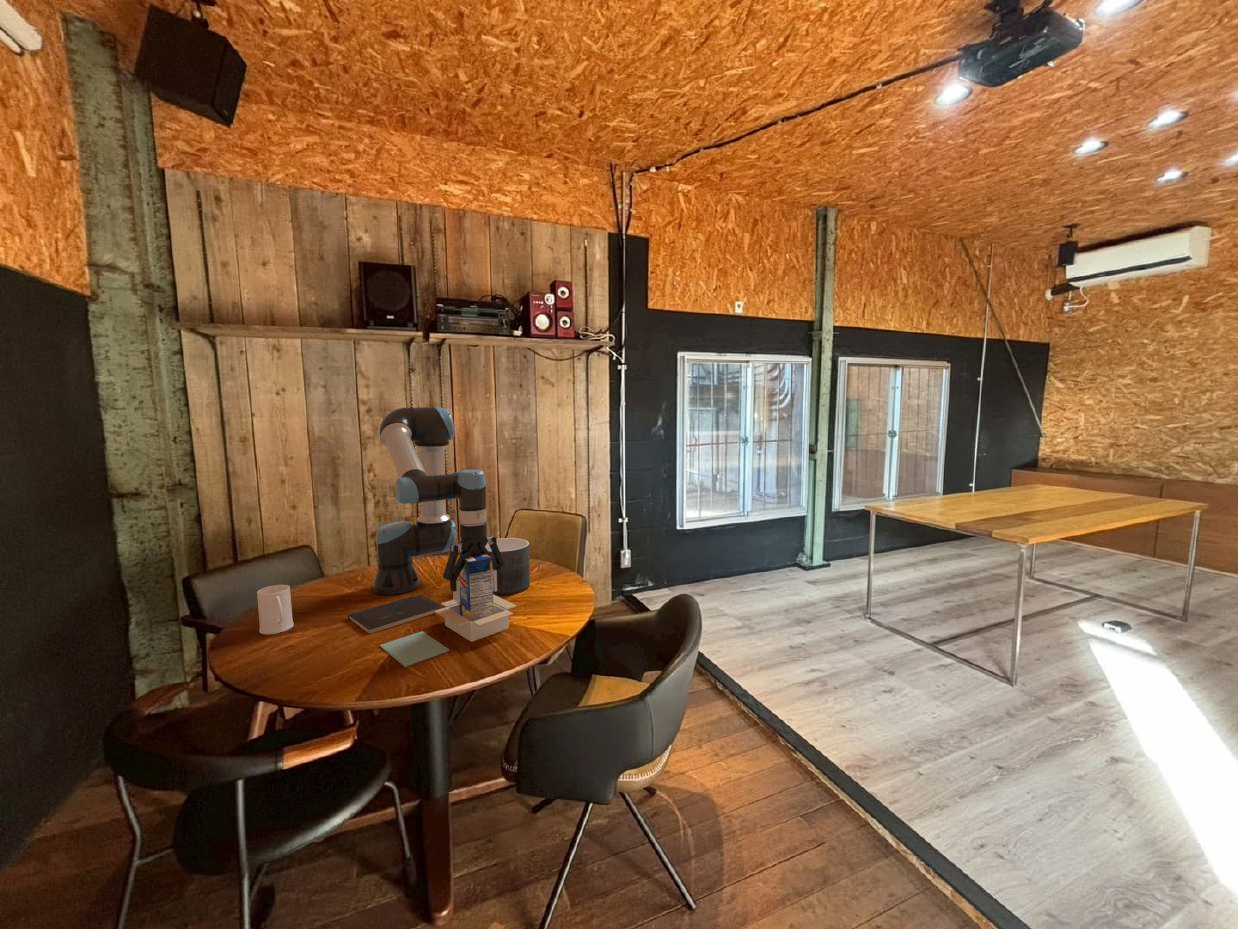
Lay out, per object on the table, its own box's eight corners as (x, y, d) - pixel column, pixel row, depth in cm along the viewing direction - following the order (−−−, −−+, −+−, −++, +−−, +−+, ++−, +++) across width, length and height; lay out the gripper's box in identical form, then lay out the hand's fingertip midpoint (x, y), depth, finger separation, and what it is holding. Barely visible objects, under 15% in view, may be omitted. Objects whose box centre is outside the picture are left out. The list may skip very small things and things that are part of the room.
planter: (540, 584, 190) (539, 542, 188) (505, 599, 175) (504, 554, 173) (505, 575, 199) (504, 535, 197) (469, 589, 184) (467, 546, 182)
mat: (379, 646, 141) (379, 645, 141) (422, 632, 150) (422, 631, 149) (404, 667, 130) (404, 665, 130) (449, 650, 138) (449, 649, 138)
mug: (297, 633, 149) (294, 593, 148) (261, 641, 144) (258, 600, 142) (291, 619, 158) (288, 582, 157) (258, 627, 153) (254, 588, 152)
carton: (428, 625, 154) (427, 607, 153) (485, 607, 168) (484, 590, 167) (466, 650, 139) (465, 629, 138) (525, 628, 152) (525, 609, 152)
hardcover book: (443, 613, 165) (443, 606, 165) (369, 636, 148) (368, 628, 148) (420, 599, 176) (419, 593, 175) (348, 620, 159) (347, 613, 159)
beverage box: (470, 636, 147) (468, 562, 144) (460, 623, 156) (457, 552, 153) (494, 631, 150) (492, 558, 148) (482, 618, 160) (479, 549, 157)
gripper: (440, 532, 138) (444, 610, 141) (515, 518, 155) (516, 588, 158) (428, 528, 144) (431, 603, 146) (501, 515, 161) (503, 582, 163)
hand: (475, 595), depth 152 cm, fingers open, 11 cm apart
